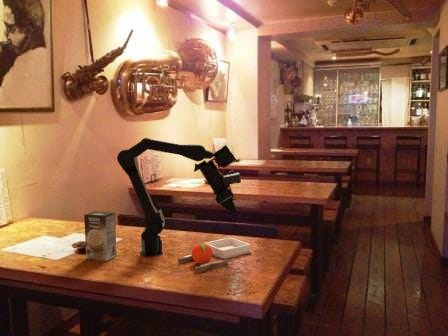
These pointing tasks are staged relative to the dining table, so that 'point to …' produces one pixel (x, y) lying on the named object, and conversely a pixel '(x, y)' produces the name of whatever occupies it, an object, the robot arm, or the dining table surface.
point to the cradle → (204, 266)
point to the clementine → (202, 253)
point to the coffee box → (100, 235)
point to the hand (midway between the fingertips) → (235, 211)
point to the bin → (228, 248)
